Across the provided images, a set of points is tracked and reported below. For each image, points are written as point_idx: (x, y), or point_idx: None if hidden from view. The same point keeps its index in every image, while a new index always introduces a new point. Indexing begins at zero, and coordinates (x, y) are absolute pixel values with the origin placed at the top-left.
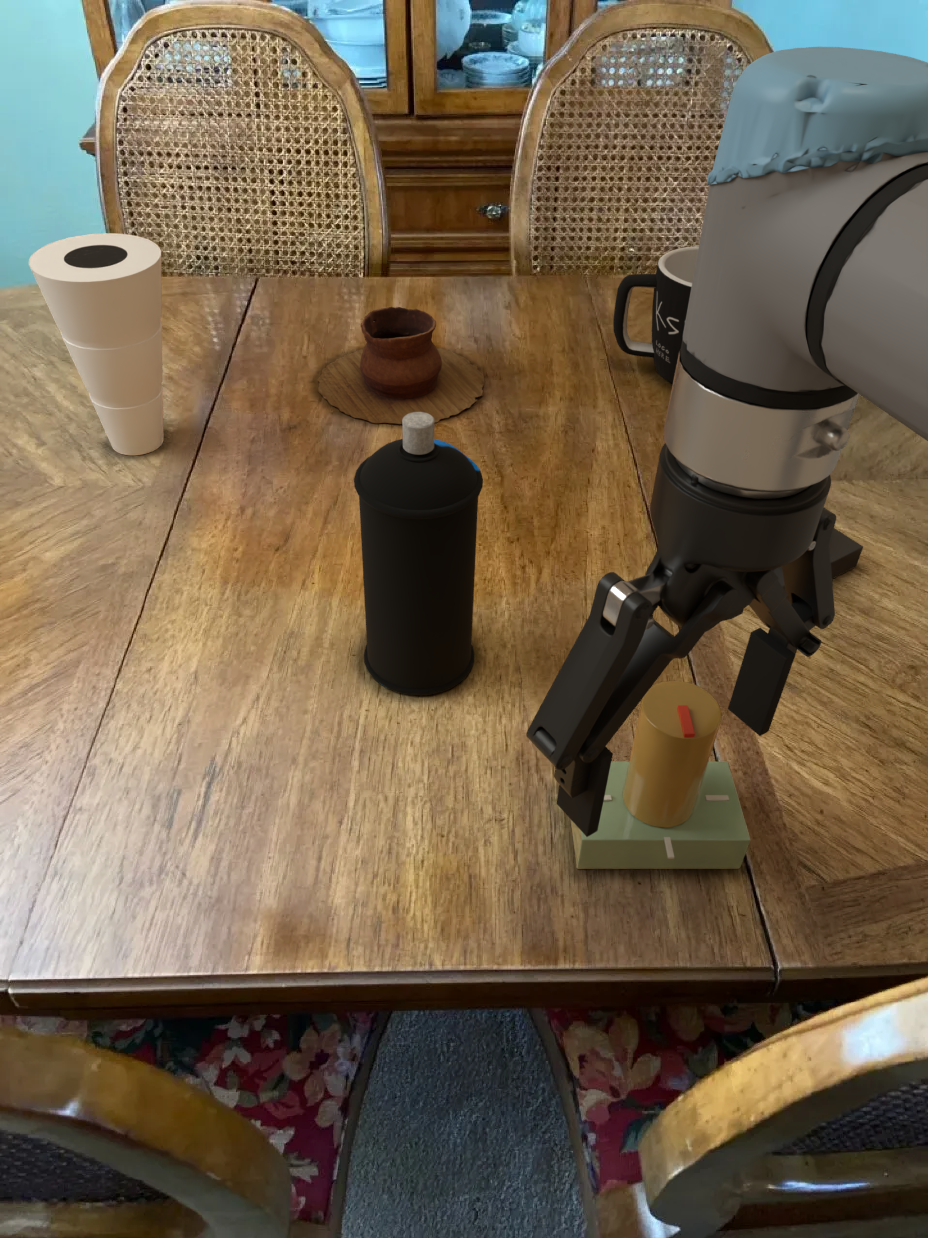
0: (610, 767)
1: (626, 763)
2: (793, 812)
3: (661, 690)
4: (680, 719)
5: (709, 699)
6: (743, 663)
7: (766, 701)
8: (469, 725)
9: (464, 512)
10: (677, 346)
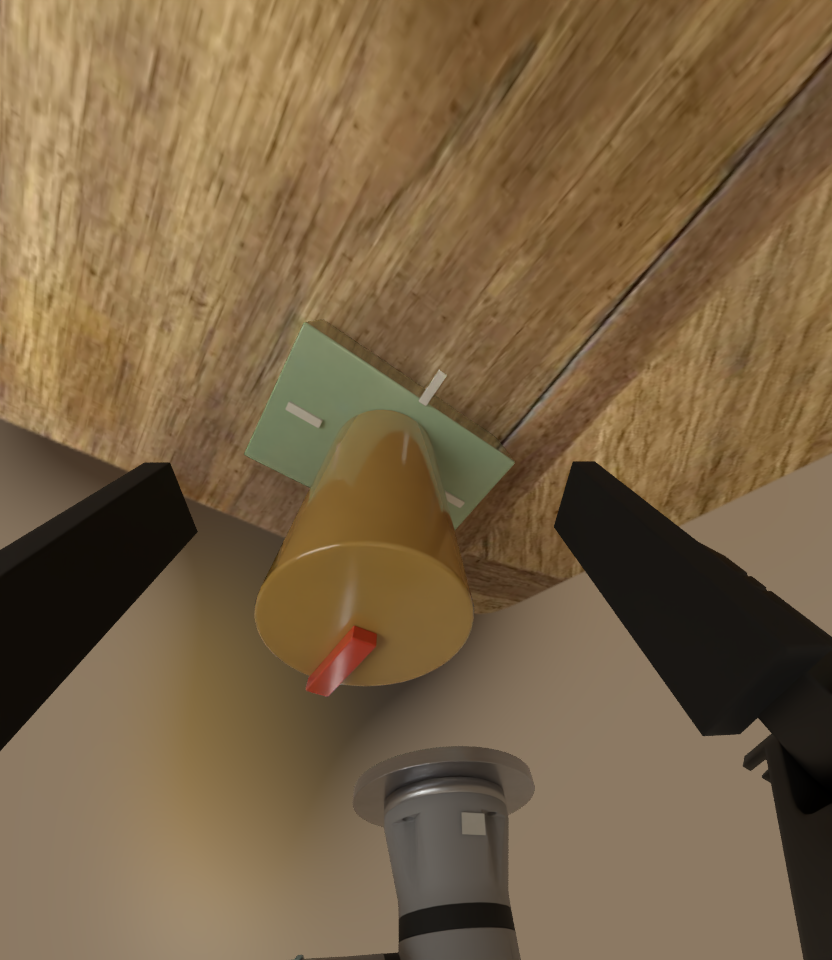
0: (358, 374)
1: (386, 384)
2: (534, 499)
3: (362, 566)
4: (329, 658)
5: (452, 637)
6: (662, 546)
7: (598, 575)
8: (216, 10)
9: None
10: None
